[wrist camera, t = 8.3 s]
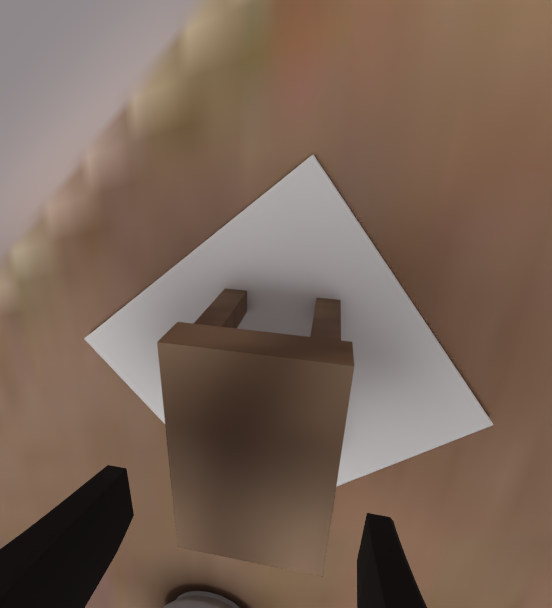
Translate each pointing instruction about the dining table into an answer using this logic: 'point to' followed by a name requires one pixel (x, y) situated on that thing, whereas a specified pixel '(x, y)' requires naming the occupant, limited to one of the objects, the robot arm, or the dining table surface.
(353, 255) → the mat
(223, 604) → the soda can
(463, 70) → the dining table surface
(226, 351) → the stool
